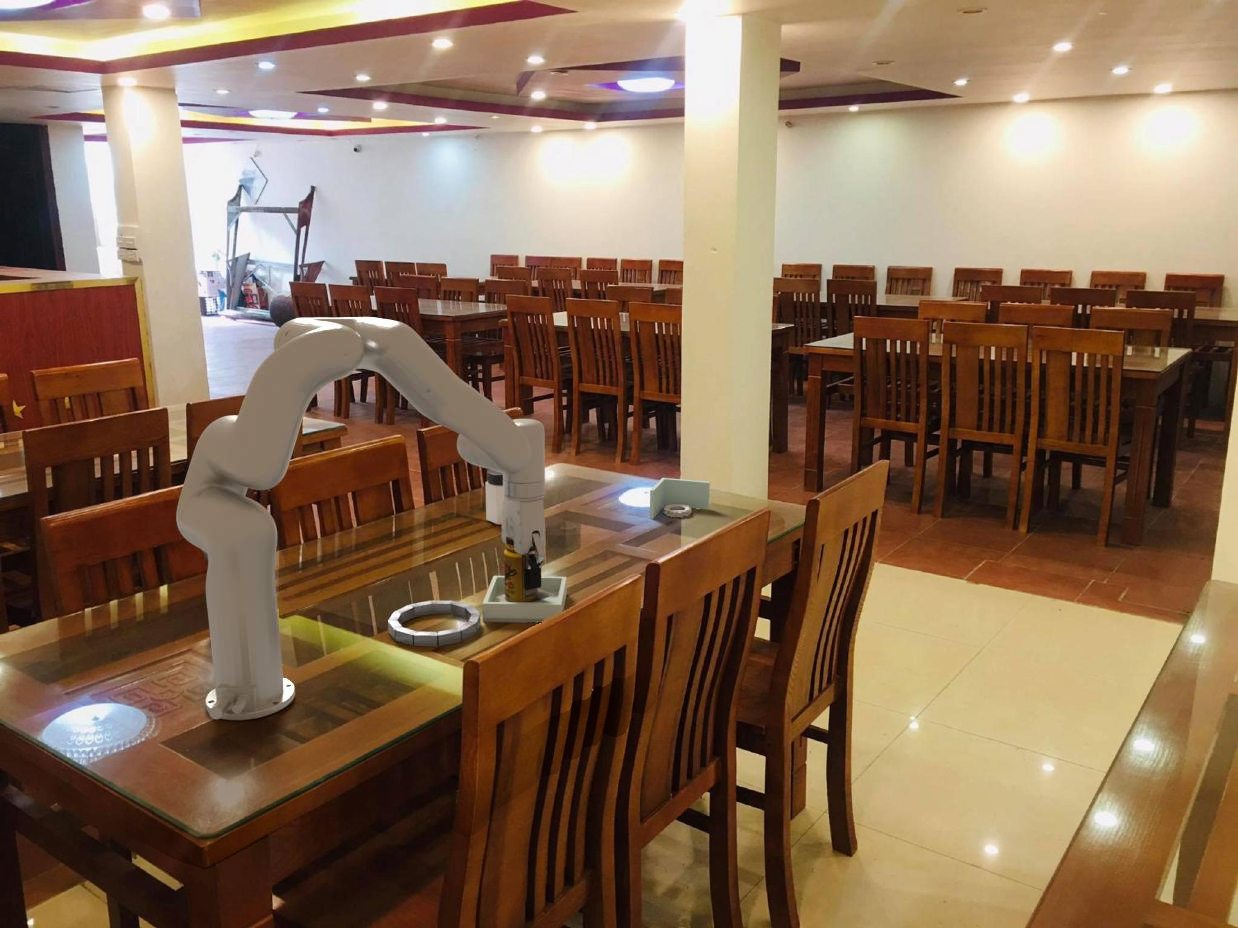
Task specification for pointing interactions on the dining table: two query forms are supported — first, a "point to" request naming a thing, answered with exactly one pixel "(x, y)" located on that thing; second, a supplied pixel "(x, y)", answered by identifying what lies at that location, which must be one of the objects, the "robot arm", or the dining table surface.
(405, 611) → the collar
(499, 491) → the jar
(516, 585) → the condiment
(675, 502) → the right angle wall
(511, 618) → the bin
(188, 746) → the dining table surface
